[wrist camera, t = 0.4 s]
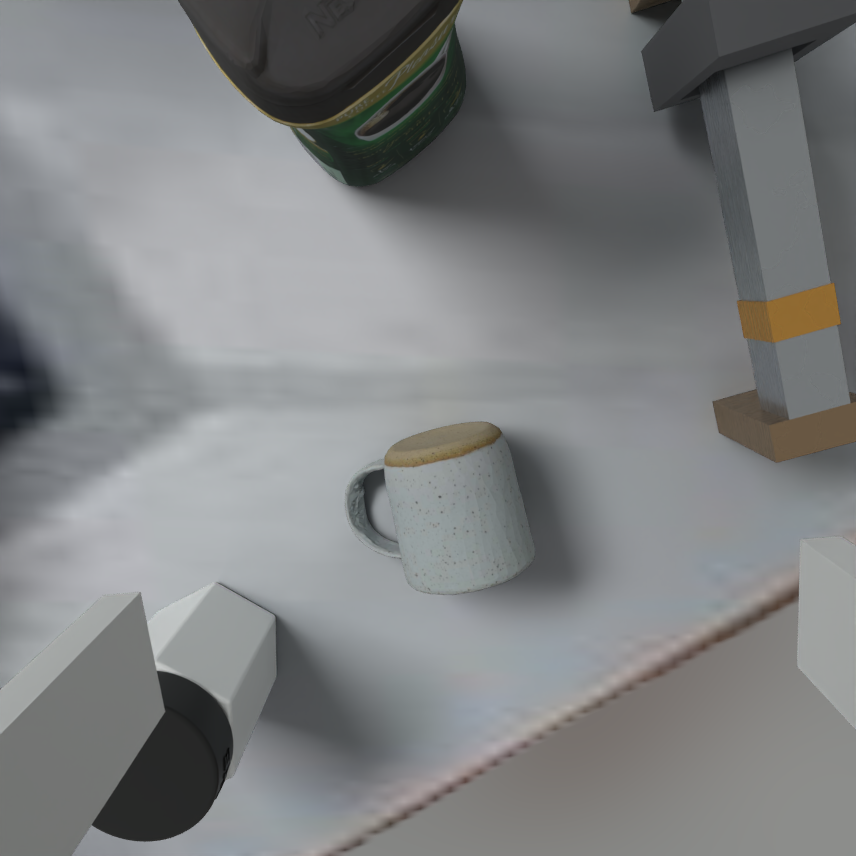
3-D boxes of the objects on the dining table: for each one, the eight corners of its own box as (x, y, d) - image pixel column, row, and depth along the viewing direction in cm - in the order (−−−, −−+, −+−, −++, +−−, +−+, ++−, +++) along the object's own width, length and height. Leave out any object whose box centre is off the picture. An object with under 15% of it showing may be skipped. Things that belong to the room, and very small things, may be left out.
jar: (195, 718, 45) (107, 871, 33) (129, 622, 43) (12, 745, 32) (307, 664, 44) (257, 802, 32) (243, 563, 42) (166, 669, 30)
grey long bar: (622, -27, 35) (667, -106, 28) (716, -59, 34) (786, -147, 27) (718, 432, 40) (777, 463, 33) (801, 410, 39) (878, 436, 32)
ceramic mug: (498, 406, 40) (508, 434, 32) (528, 529, 41) (544, 583, 34) (332, 448, 41) (304, 484, 33) (368, 567, 42) (349, 627, 35)
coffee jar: (396, -27, 35) (343, -368, 17) (487, 97, 36) (529, -96, 18) (262, 98, 36) (80, -92, 18) (354, 213, 38) (268, 142, 19)
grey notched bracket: (641, 51, 33) (703, -25, 25) (766, 10, 33) (871, -80, 25) (654, 111, 34) (719, 56, 26) (777, 72, 33) (883, 4, 25)
